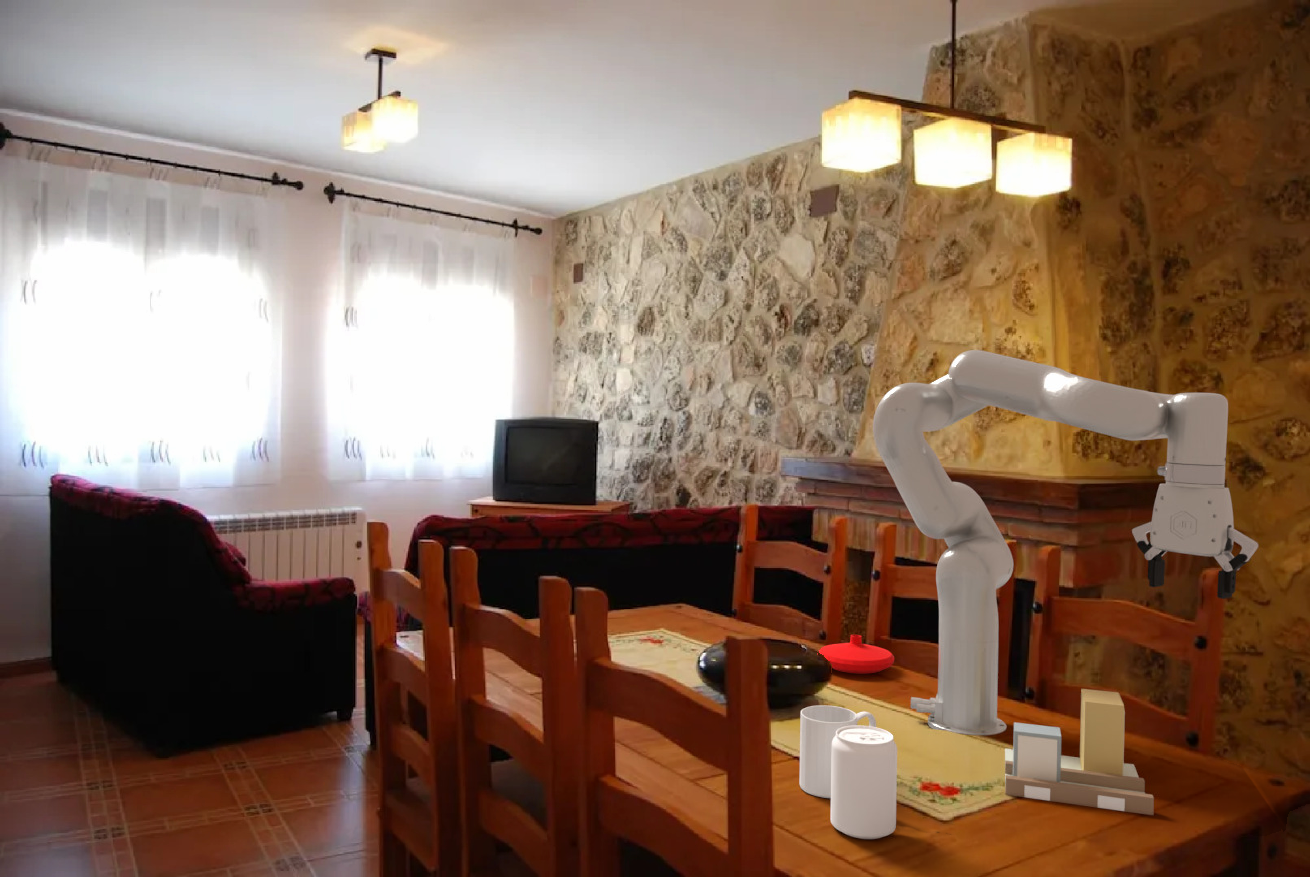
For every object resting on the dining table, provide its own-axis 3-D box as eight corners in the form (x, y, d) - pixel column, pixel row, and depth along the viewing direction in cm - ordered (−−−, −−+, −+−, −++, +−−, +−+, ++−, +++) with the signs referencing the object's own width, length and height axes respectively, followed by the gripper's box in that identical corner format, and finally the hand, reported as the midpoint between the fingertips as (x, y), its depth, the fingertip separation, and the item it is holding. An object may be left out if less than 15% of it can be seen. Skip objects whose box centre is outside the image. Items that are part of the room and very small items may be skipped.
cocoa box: (1013, 788, 130) (1014, 731, 130) (1012, 778, 134) (1013, 722, 134) (1060, 795, 128) (1061, 737, 128) (1058, 784, 132) (1059, 727, 132)
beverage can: (823, 815, 123) (824, 724, 123) (883, 814, 124) (885, 723, 123) (840, 843, 115) (842, 746, 115) (905, 841, 116) (906, 745, 115)
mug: (822, 803, 127) (823, 726, 127) (788, 782, 134) (789, 709, 134) (891, 788, 132) (893, 714, 132) (855, 769, 139) (856, 698, 139)
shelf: (1005, 801, 128) (1005, 778, 128) (1004, 754, 146) (1005, 734, 146) (1153, 823, 122) (1154, 798, 122) (1133, 771, 140) (1134, 749, 140)
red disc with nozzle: (902, 680, 188) (903, 645, 188) (823, 679, 188) (824, 644, 188) (884, 660, 203) (885, 628, 203) (811, 659, 204) (812, 627, 203)
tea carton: (1124, 783, 133) (1125, 706, 132) (1083, 778, 134) (1085, 701, 134) (1118, 766, 139) (1120, 692, 139) (1079, 761, 141) (1081, 688, 141)
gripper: (1123, 472, 144) (1118, 584, 144) (1247, 481, 129) (1241, 605, 130) (1148, 471, 148) (1143, 580, 148) (1271, 480, 134) (1265, 600, 134)
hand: (1189, 591), depth 139 cm, fingers open, 9 cm apart
